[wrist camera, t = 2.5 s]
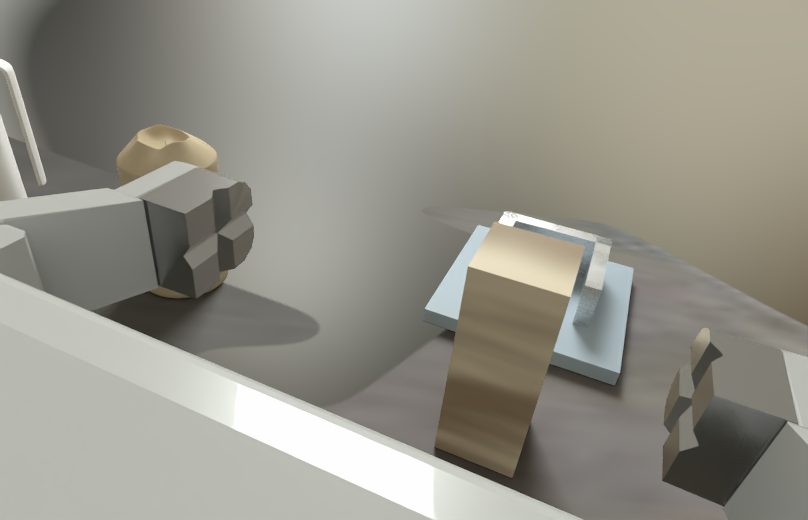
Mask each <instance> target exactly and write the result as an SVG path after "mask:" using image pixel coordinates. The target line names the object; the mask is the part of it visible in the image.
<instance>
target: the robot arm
mask: <svg viewBox="0 0 808 520" xmlns="http://www.w3.org/2000/svg"><path fill="white" fill-rule="evenodd" d="M251 206H252V197H251V189H250V188H249V186H248V185H247V184H246V183H245V182H242V181H239V180H236V179H233V178H230V177H227V176H225V175H221V174H219V173H216V172H213V171H210V170H207V169H204V168H201V167H198V166H195V165H192V164H188V163H185V162H179V161H173V162H171V163H169V164H167V165H165V166H163V167H161V168H159V169H157V170H155V171H153V172H151V173H149V174H146V175H144V176H142V177H140V178H138V179H136V180H134V181H132V182H130V183H128V184H126V185H124V186H122V187H120V188H117V189H115V190H112V189H109V188H104V189H96V190H88V191H80V192H72V193H63V194H55V195H47V196H39V197H31V198H23V199H15V200H7V201H0V520H583V519H581V518H578V517H576V516H573V515H571V514H569V513H566V512H564V511H562V510H559V509H557V508H555V507H552V506H550V505H548V504H545V503H543V502H540V501H538V500H536V499H533V498H531V497H529V496H526V495H524V494H522V493H519V492H517V491H515V490H512V489H510V488H508V487H505V486H503V485H500V484H498V483H496V482H493V481H491V480H489V479H486V478H484V477H482V476H479V475H477V474H475V473H472V472H470V471H467V470H465V469H463V468H460V467H458V466H456V465H453V464H451V463H449V462H446V461H444V460H442V459H439V458H437V457H434V456H432V455H430V454H427V453H425V452H423V451H420V450H418V449H416V448H413V447H411V446H409V445H406V444H404V443H401V442H399V441H397V440H394V439H392V438H390V437H387V436H385V435H383V434H380V433H378V432H376V431H373V430H371V429H368V428H366V427H364V426H361V425H359V424H357V423H354V422H352V421H349V420H347V419H345V418H342V417H340V416H338V415H335V414H333V413H330V412H328V411H326V410H323V409H321V408H319V407H316V406H314V405H311V404H309V403H307V402H304V401H302V400H299V399H297V398H295V397H292V396H290V395H288V394H285V393H283V392H281V391H278V390H276V389H273V388H271V387H269V386H266V385H264V384H261V383H259V382H256V381H254V380H252V379H249V378H247V377H245V376H242V375H240V374H238V373H235V372H233V371H230V370H228V369H226V368H223V367H221V366H219V365H216V364H214V363H212V362H209V361H207V360H204V359H202V358H200V357H197V356H195V355H193V354H190V353H188V352H186V351H183V350H181V349H178V348H176V347H174V346H171V345H169V344H167V343H164V342H162V341H160V340H157V339H155V338H152V337H150V336H148V335H145V334H143V333H141V332H138V331H136V330H133V329H131V328H129V327H126V326H124V325H122V324H119V323H117V322H115V321H112V320H110V319H107V318H105V317H103V316H100V315H98V314H96V313H93V312H91V311H93V310H96V309H98V308H101V307H104V306H107V305H110V304H113V303H116V302H119V301H122V300H124V299H127V298H130V297H133V296H136V295H139V294H142V293H145V292H147V291H150V290H153V289H156V288H158V286H161V287H164V288H167V289H169V290H172V291H175V292H178V293H181V294H183V295H186V296H189V297H192V298H195V299H197V298H198V297H200V296H201V295H202V294H203V293H205V292H206V291H207V290H208V289H210V288H211V287H212V286H214V285H215V284H216V283H217V282H219V281H220V273H221V272H222V271H226V270H230V269H234V268H236V267H237V266H238V265H239V264H241V263H242V262H243V261H244V260H245V258H246V256H247V255H248V253H249V251H250V249H251V247H252V243H253V238H254V227H253V223H252V222H251V220H250V218H249V217H248V215H247V213H246V212H247V211H248V210H249V208H250V207H251ZM664 425H665V427H666V428H667V430H668V431H669V433H670V435H669V437H668V438H667V440H666V442H665V444H664V446H663V473H662V481H664V482H667V483H669V484H671V485H674V486H676V487H679V488H681V489H683V490H686V491H688V492H691V493H693V494H695V495H698V496H700V497H703V498H705V499H707V500H710V501H712V502H715V503H717V504H719V505H722V506H724V508H723V510H724V512H725V514H726V515H727V517H728V519H729V520H808V357H806V356H802V355H799V354H795V353H792V352H788V351H784V350H781V349H776V348H773V347H769V346H766V345H762V344H759V343H756V342H752V341H749V340H745V339H742V338H738V337H735V336H732V335H728V334H725V333H721V332H718V331H714V330H711V329H707V328H703V329H702V331H701V332H700V333H699V334H698V336H697V337H696V339H695V341H694V343H693V345H692V346H691V364H689V365H686V366H684V367H682V368H680V369H679V371H678V373H677V375H676V377H675V379H674V381H673V383H672V386H671V388H670V391H669V394H668V397H667V401H666V406H665V412H664Z"/></svg>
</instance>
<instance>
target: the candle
mask: <svg viewBox="0 0 808 520" xmlns="http://www.w3.org/2000/svg"><path fill="white" fill-rule="evenodd" d="M173 161H179V162H185V163H188V164H192V165H195V166H198V167H201V168H204V169H207V170H210V171H213V172H216V173H219V170H218V162H217V154H216V151H215V150H214V149H213V148H212V147H210V146H209V145H208V144H207V143H205V142H203V141H202V140H200V139H198V138H196V137H194V136H192V135H190V134H187V133H185V132H184V131H182V130H179V129H176V128H170V127H168V126H165V125H159V124H158V125H154V126H152V127H149V128H147V129H144V130H141V131H139V132H138V133H137V135H136V136H135V137H134V138H133V140H132V141H131V142H130V143H129V144H128V145H127V146H126V147H125V148H124V149H123V151H122V152H121V153H120V154H119V155H118V157H117V160H116V162H117V168H118V172H119V177H120V182H121V187H122V186H124V185H126V184H128V183H130V182H132V181H134V180H136V179H138V178H140V177H142V176H144V175H146V174H149V173H151V172H153V171H155V170H157V169H159V168H161V167H163V166H165V165H167V164H169V163H171V162H173ZM227 274H228V270H226V271H222V272H221V273H220V281H219V282H217V283H216V284H215V285H214V286H212V287H211V288H210V289H208V290H207V291H206V292H205V293H207V292H209V291H211V290H213V289H215V288H216V287H218V286H219V285H220V284H221V283H222V282H223V281H224V280H225V278H226V276H227ZM150 292H152V293H154V294H156V295H159V296H162V297H167V298H189V296H186V295H183V294H181V293H178V292H175V291H172V290H169V289H167V288H164V287H161V286H158V288H156V289H153V290H150ZM205 293H203V294H205Z"/></svg>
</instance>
